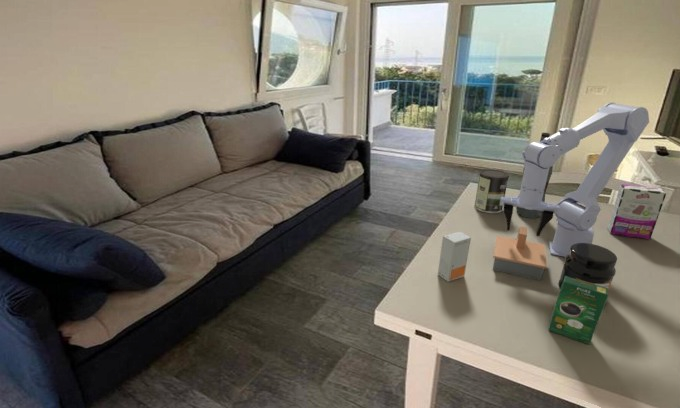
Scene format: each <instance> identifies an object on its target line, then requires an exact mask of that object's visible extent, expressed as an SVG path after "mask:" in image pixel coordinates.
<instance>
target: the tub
mask: <svg viewBox="0 0 680 408" xmlns="http://www.w3.org/2000/svg"><path fill="white" fill-rule="evenodd" d="M493 259H494V260H493V266H492V270H494V271H498V272H502V273H506V274H511V275H515V276H520V277H525V278H530V279H534V280H537V281H542V277H543V273H544V269H545V268H540V267H535V266H531V265H526V264H521V263H516V262H512V261H507V260H502V259H497V258H493Z"/></svg>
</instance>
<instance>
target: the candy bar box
mask: <svg viewBox="0 0 680 408" xmlns="http://www.w3.org/2000/svg"><path fill="white" fill-rule="evenodd" d="M666 196H667V192H666V190H664V189H663V188H662V187H653V186H652V187H651V186H643V185H633V184H625V183H623V184H622V183H621V184H620V185H619V188H618V191H617V195H616V198H615V201H614V206H613V208H612V212H611V215H610V218H609V221H608V225H607V230H608V232H609V234H610V235H613V236H614V235H615V236H620V237H628V238H635V239H641V240H647V241H649V240H651V238H652V236H653V232H654V230H655V228H656V225H657V221H658V218H659V216H660V213H661V211H662V208H663V207H662V206H663V205H664V204H663V203H664V201H665V199H666Z"/></svg>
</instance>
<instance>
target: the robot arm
mask: <svg viewBox="0 0 680 408" xmlns="http://www.w3.org/2000/svg"><path fill="white" fill-rule="evenodd" d="M649 123H650V116H649V110H648V109H647V108H646V107H643V106H634V105H627V104H619V103H616V102H607V103H606V104H605V105H603V106H600V107H599V108H598V110H597V112H596V113H594V114H593V115H592V116H591V117H588V119H585V120H584V121H582V122H581V123H580V124H578V125H576V126H575V127H573V128H571V127H562V128H559V130H558V131H557V132H555V133H553V134H552V135H550V136H549V137H548V138H545V139H544V140H543V141H541V142H540V141H533V142H530V144H528V145H526V147H525V149H524V151H522V159H523V161H524V162H523V163H524V164H523V168H524V167H525V170H524V175H523V174H522V179H521V185H520V190H519V194H518V196H519V198H518V197H510V196H509V197H508V196H507V197H506V196H505V197H501V201H500V205H502V206H503V208H502V210H503V212H504V216H505V219H506V220H505V221H506V231H507V232H508V231H509V232H510V229H511V221H512V217H513V213H514V208H516V207H520V208H525V209H529V210H539V211H542V212H541V215H540V216H539V217H540V219H539V221H538V226H537V228H536V232H535V233H536V237H540V236H541V234H542V231H543V230H544V228H545V227H546V226H547V225H548V223H549V222H550V221H552V219H553V218H554V215H555V217H556V221H557V224H556V225H557V226H556V229H555V232H554V237H553V239H552V240H553V241H549V244H548V245H549V249H550V251H549V253H550V255H554V256H560V257H563V258H565V257H566V256H567V255H569V251H570V248H571V246H572V245H573V244H576V243H589V244H593V241H594V236H595V235H594V234H595V231H594V228H592V227H593V226H594V225H595V224H596V222H597V218H598V216H599V213H600V212H601V210H602V208H601V206H600V205H599V203H598V198H599V196H600V195H601V193H602V191H603V190H604V189H605V188H606V186H607V184H608V183H609V181H610V180H611V179H612V177H613V175H614V174H615V172H616V171H617V170H618V168H619V167H620V165H621V164H622V162H623V161H624V159H625V157H627V155H628V153H629V152H630V150H631V148H633V146H634V144H635V143H636V142H637V141H638V139H639V138H640V136H641V135H642V133H643V132H644V130H645V129H646V127H647V126H648V125H649ZM602 130H603V133H604V134H605V136H607V139H608V142H607V143H606V145H605V147H604V149H602V151H601V153H600V155H599V156H598V157H597V158H596V161H595V162H594V164H593V165H592V166H591V168H590V169H589V171H588V172H587V174H586V176H585V177H584V179H582V180H583V181H582V182H581V183H580V185H579V186H578V188H577V189H576V190H574V191H570V192H568V193H566V194H565V195H564V196H563V198H562V199H561V200H560V201H558V202H557V203H556V204H553V203H550V202H546V201H545V202H542V198H543V194H544V189H545V185H546V181H547V177H548V172H549V168H550V167H551V166H553V167H554V165H555V164H556V163H557V162H558V160H559V159H560V158H561V157H562V156H563V155H565V154H566V153H568V152H570V151H571V150H573V149H575V148H577V147H578V146H579V145H580V142H581V140H583V139H586V138H587V137H589V136H592V135H594V134H596V133H598V132H601V131H602Z"/></svg>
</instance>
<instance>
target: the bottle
mask: <svg viewBox="0 0 680 408" xmlns="http://www.w3.org/2000/svg"><path fill="white" fill-rule="evenodd" d="M550 136H551V133H549V132H541V136H540V141H539V142H541V141H543V140H544V139H545V138H548V137H550ZM553 168H554V165H553V166H551V167H550V168H549V172H548V177H547V181H546V185H545V189H544V194H543V198H542V202H546V192H547V189H548V186H549V183H550V180H551V177H552V175H553ZM524 170H525V167H524V166H523V171H522V176H523V175H524ZM517 198H519V195H518V197H517ZM515 208H516V210H515V211H516V213H517V214H518V215H519V216H521V217H524V218H528V219H536V218H539V217H541V212H542V211H539V210H529V209H525V208H520V207H515Z"/></svg>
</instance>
